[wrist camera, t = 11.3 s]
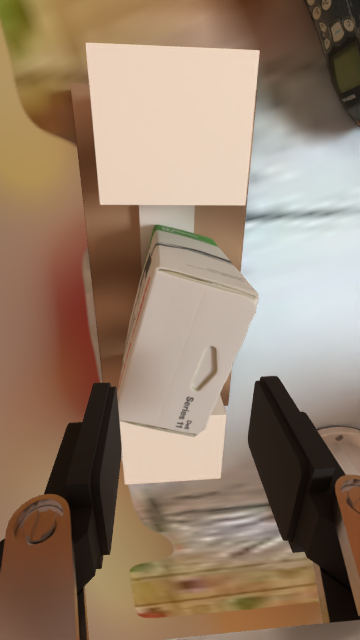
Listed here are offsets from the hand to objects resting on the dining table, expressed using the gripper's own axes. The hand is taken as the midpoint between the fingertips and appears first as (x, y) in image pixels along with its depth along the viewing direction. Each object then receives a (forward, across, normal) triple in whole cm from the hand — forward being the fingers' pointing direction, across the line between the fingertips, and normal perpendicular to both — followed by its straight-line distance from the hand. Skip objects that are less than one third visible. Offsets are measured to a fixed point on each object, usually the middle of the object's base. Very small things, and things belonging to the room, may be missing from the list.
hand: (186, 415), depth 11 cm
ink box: (+15, 0, 0) cm, 15 cm away
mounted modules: (+15, 0, 0) cm, 15 cm away
